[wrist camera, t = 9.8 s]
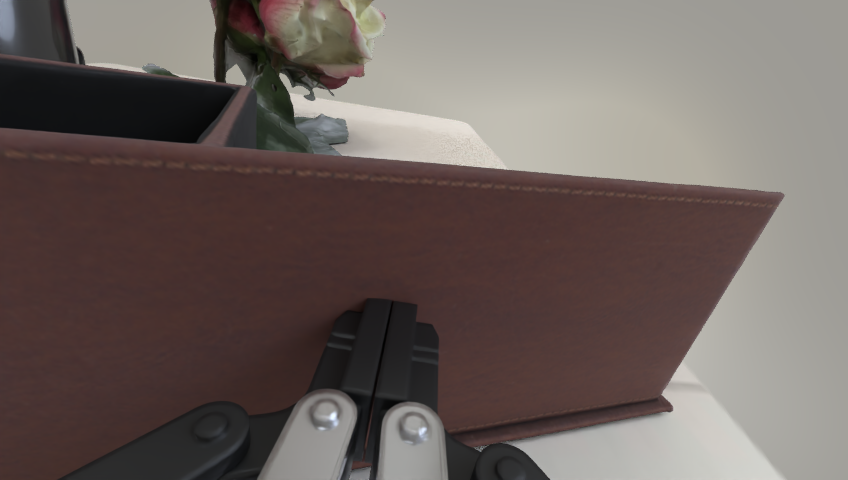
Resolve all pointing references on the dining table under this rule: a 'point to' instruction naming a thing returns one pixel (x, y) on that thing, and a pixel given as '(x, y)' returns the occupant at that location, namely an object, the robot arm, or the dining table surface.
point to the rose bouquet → (293, 61)
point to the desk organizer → (318, 270)
